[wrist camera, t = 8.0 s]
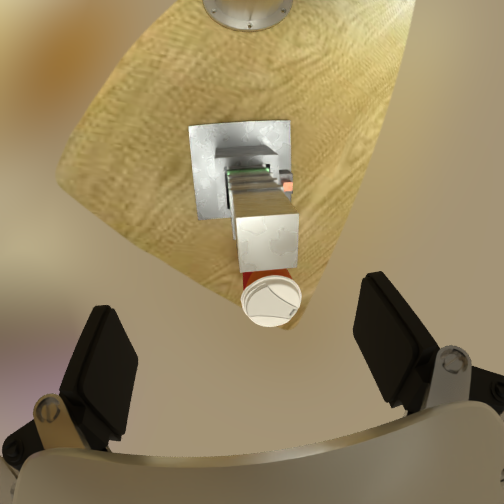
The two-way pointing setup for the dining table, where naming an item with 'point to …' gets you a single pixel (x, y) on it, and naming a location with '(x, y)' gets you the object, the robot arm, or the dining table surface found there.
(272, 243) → the column
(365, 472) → the robot arm
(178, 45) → the dining table surface
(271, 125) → the stand base
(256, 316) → the paper cup
